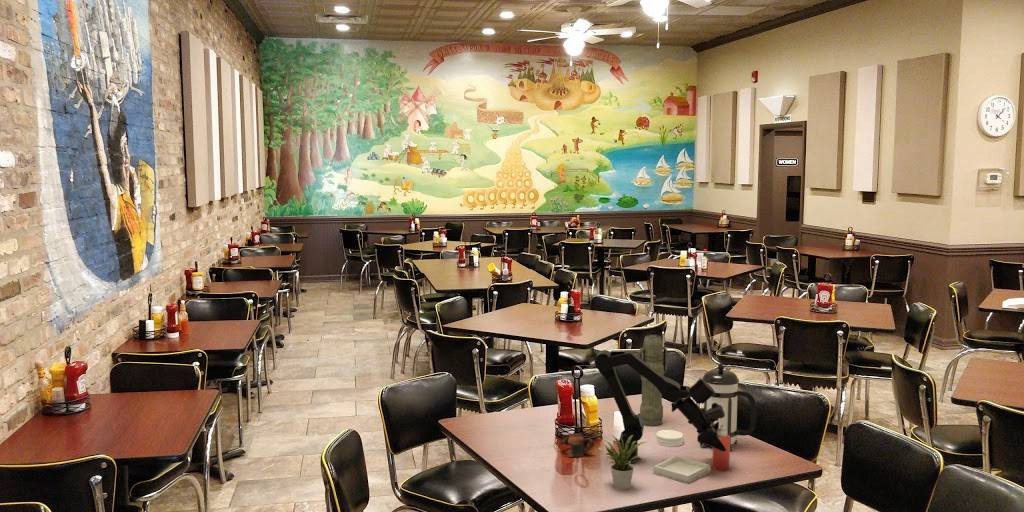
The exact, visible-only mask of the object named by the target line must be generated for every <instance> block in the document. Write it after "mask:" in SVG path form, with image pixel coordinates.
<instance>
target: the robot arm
mask: <svg viewBox="0 0 1024 512" xmlns="http://www.w3.org/2000/svg"><path fill="white" fill-rule="evenodd" d="M594 365H595V366H594V367H596V369H597V370H598V372H599V373H600V374H601V376H602V377H603V378H604V379H605V381H606V383H607V385H608V387H609V390H610V392H611V395H612V396H613V399H614V401H615V404H616V405H617V406H616V407H617V408H618V410H619V413H620V415H621V419H622V422H623V423H622V424H623V428H624V430H623V431H621V433H620V436H619V438H618V440H619V441H620V443H621V446H622V440H623V444H624V450H625V444H626V442H627V440H628V438H629V437H630V436H632V435H633V436H632V438H631V441H630V443H629V445H630V446H629V445H628V447H629V448H628V449H627V452H628V451H629V450H630V447H631V445H632V442H635V441H636V442H635V444H634V446H635V445H637V444H639V442H638V441H640V440H641V439H642V437H643V436H644V430H645V429H644V428H645V425H644V422H643V421H642V419H641V416H640V412H639V413H637V414H636V413H635V412H634V411H633V409H632V406H631V405H630V402H629V399H628V398H627V397H628V396H627V395H626V393H625V390H624V388H623V386H622V383H621V381H620V379H619V377H618V374H617V369H616V367H621V366H625V365H628V366H629V367H630V368H631V369H633V370H635V372H637V373H638V374H639V375H640V376H641V375H642V376H643V377H644V378H646V379H647V380H648V381H650V382H651V383H652V384H654V385H655V387H656V388H657V389H658V390H659V392H660V393H661V394H662V397H663V398H665V400H667V401H668V402H670V403H671V404H670V405H671V413H674V412H675V411H676V410H678V411H679V412H680V413H681V414H682V416H684V417H685V418H686V419H687V423H688V424H689V425H692V426H693V427H694V428H695V429H696V432H697V440H696V441H697V442H698V443H699V445H700V444H701V445H702V444H703V445H704V444H707V446H710V447H712V448H713V447H714V448H717V449H719V450H721V451H723V452H724V451H725V450H726V448H725V447H724V445H723V444H722V442H721V441H720V439H719V438H718V436H717V430H716V429H719V422H717V423H716V424H715V423H713V422H714V421H718V419H719V418H723V417H724V416H725V413H724V410H723V407H722V406H721V405H718V404H717V403H716V402H715V403H713V404H712V408H709V410H705V409H704V408H703V407H700V406H699V405H700V404H702V405H703V403H704V402H706V401H707V400H708V399H709V398H710V397H711V396H713V395H714V394H715V391H714V390H713V388H712V387H711V386H710V385H709V384H708V383H706V382H705V381H703V380H702V377H700V378H699V379H697V381H696V382H695V383H694V384H693V385H691V387H690V386H688V385H684V384H683V385H682V384H680V383H679V382H677V381H675V380H674V379H672V378H670V377H667V376H666V375H664V376H663V375H661V374H659V373H658V372H657V371H656V370H654V369H653V368H652V367H650V366H649V365H648V364H646V363H645V362H644V361H643V359H642V360H641V359H640V358H639V357H638V355H636V354H635V353H634V351H632V350H626V351H625V350H622V351H621V350H620V351H616V350H614V351H609V350H606V349H603V350H600V351H599V352H598V353H597V354H596V356H595V359H594ZM621 438H622V440H621ZM634 446H633V447H634ZM633 447H632V448H633ZM636 448H637V449H636V450H635V451H634V452H633V453H632V454H631V455H630V457H629V459H628V461H630V459H631V458H632V457H634V456H638V455H639V454H638V451H639V450H638V449H639V446H638V447H636ZM633 449H634V448H633ZM633 449H632V450H633ZM632 450H631V452H632ZM631 452H630V453H631ZM618 455H619V457H620V453H618ZM620 459H621V457H620ZM633 460H638V461H636V462H632V463H630V464H629V465H631V464H632V465H633V464H634V463H637V462H639V461H641V460H642V458H641V457H640V458H635V459H633Z"/></svg>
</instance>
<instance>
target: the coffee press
mask: <svg viewBox="0 0 1024 512" xmlns="http://www.w3.org/2000/svg"><path fill="white" fill-rule="evenodd" d="M701 379H702V380H703V381H705V382H706V383H708V384H709V385H710V386H711V387H712V388H713V390H714V391H715V394H714V395H713V396H711V397H710V398H709V399H708V400H707V401H706V402H704V403H703V404H702V408H704V409H705V410H709V408H712V404H713V403H715V402H716V403H717V404H718V405H721V406H722V407H723V410H724V413H725V416H724V417H723V418H719V419H718V421H714V422H713V423H715V424H716V423H717V422H719V429H720V425H723V429H726V430H727V435H729V436H730V452H733V447H732V445H736V444H737V443H738V440H737V436H741V437H745V436H749V435H751V434H752V433H753V432H754V430H755V428H756V419H757V418H756V415H757V414H756V413H757V412H756V411H757V405H756V399H755V397H754V396H753V394H751V393H750V392H747V391H746V390H742V391H741V390H739V389H738V385H739V382H740V379H739V377H738V376H737V374H736V373H735V372H733V371H730V370H727V369H725V366H724V364H722V363H721V364H718V365H717V369H711V370H708V371H706V372H704V374H703V376H702V377H701ZM741 396H742V397H745V398H747V400H748V401H749V403H750V405H749V406H750V413H749V415H750V416H749V427H748V429H747V430H741V429H740V430H739V429H738V428H737V423H738V421H737V420H738V419H737V416H738V397H741ZM699 446H700V447H701V448H703V449H705V448H706V447H707V446H708V445H707V444H702V445H701V444H700V443H699Z"/></svg>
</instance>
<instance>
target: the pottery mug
mask: <svg viewBox="0 0 1024 512" xmlns="http://www.w3.org/2000/svg"><path fill="white" fill-rule="evenodd" d="M588 443H589V444H588ZM560 445H561V446H562V445H565V446H570V448H571V449H569V450H566V455H567V456H566V457H567V458H573V457H574V458H575V457H577V458H579V457H580V458H584V454H587V453H588V452H589V451H591V450H592V449H593V448H594V445H595V443H594V440H593V439H592V438H590V437H588V438H584V434H583V433H569V434H565V435H563V436H562V441H561V443H560Z"/></svg>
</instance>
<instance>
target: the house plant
mask: <svg viewBox="0 0 1024 512" xmlns="http://www.w3.org/2000/svg"><path fill="white" fill-rule="evenodd" d="M632 436H633V435H632ZM632 436H630V437H629V438H628V440H627V442H626V444H625V450H624V444H623V440H622V438H621V440H622V446H621V443H620V441H619V438H617V437H616V436H614V435H612V437H613V439H614V440H615V442H616V444H617V448H618V452H619V453H620V457H621V459H620V457H619V453H618V452H617V451H616V449H615V447H614V445H612V444H611V443H610V442H608V441H607V440H604V439H603V440H604V442H605V443H607V444H608V445H609V446H608V445H606V444H605V443H603V446H604V447H605V449H606V451H607V453H606V455H607V458H609V459H611V460H613V461H610V462H609V465H610V464H612V465H610V470H611V476H612V478H611V479H612V483H613V487H614V489H617V490H627V489H628V490H629V489H630V488H631V485H632V484H631V483H632V479H633V474H634V466H633V465H631V464H630V463H632V462H634V463H637V462H641V460H639V461H638V460H633V459H635V458H641V457H640V456H634V457H632V458H631V459H630V461H628V459H629V457H630V455H631V454H632V453H633V452H634V451H635V450H636V449H637V448H636V447H638V448H639V446H640V445H642V444H645V443H646V444H647V441H641V442H640V443H639V442H638V444H637V445H635V446H634V444H635V442H636V441H635V442H632V445H631V447H630V450H629V451H628V452H627V449H628V448H629V447H628V445H629V443H630V441H631V438H632ZM629 446H630V445H629ZM633 446H634V447H633ZM632 447H633V448H634V449H633V448H632ZM632 449H633V450H632ZM631 450H632V452H631ZM630 452H631V453H630ZM636 461H637V462H636ZM632 464H633V463H632Z"/></svg>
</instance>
